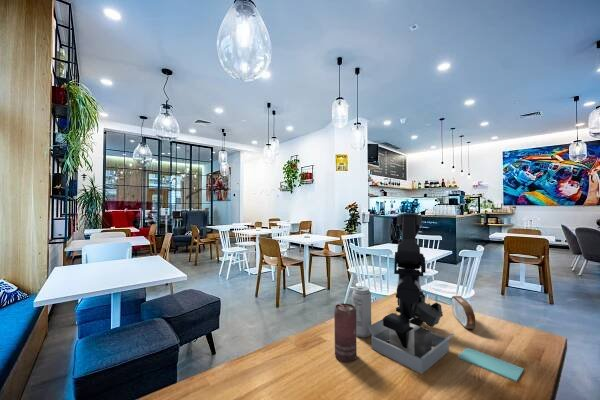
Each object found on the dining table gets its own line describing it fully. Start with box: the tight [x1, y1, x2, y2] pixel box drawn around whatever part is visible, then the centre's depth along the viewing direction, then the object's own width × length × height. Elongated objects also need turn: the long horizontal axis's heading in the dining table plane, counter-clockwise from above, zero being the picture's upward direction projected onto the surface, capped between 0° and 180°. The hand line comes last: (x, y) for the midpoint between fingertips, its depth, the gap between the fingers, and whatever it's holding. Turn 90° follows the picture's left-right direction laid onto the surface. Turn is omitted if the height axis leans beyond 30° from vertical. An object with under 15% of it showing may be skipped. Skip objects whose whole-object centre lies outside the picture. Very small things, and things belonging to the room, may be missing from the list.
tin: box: [450, 295, 477, 330], centre depth 95 cm, size 15×3×8 cm, turn 168°
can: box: [333, 303, 358, 363], centre depth 75 cm, size 6×6×14 cm
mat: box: [457, 347, 525, 382], centre depth 71 cm, size 13×7×1 cm, turn 39°
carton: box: [368, 312, 455, 375], centre depth 78 cm, size 19×16×6 cm
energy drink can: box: [351, 285, 372, 338], centre depth 88 cm, size 6×6×15 cm
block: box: [388, 323, 433, 358], centre depth 78 cm, size 11×4×7 cm, turn 39°
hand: (409, 344), depth 78 cm, fingers open, 5 cm apart
